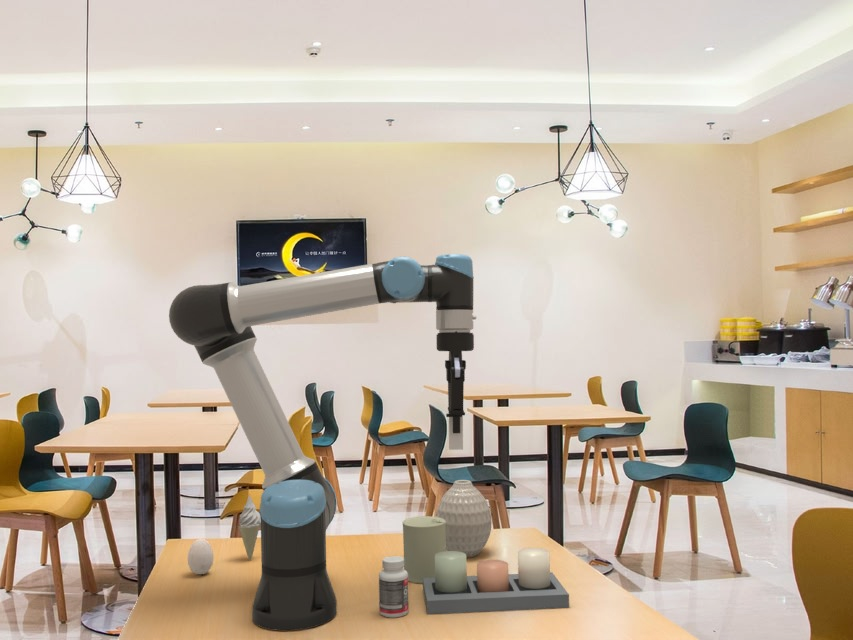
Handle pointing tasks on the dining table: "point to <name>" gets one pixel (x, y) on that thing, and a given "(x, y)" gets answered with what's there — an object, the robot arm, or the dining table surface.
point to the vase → (465, 518)
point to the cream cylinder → (534, 568)
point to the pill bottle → (393, 588)
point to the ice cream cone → (249, 526)
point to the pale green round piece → (450, 571)
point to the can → (422, 546)
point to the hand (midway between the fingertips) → (456, 448)
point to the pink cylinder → (492, 576)
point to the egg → (200, 556)
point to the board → (494, 597)
